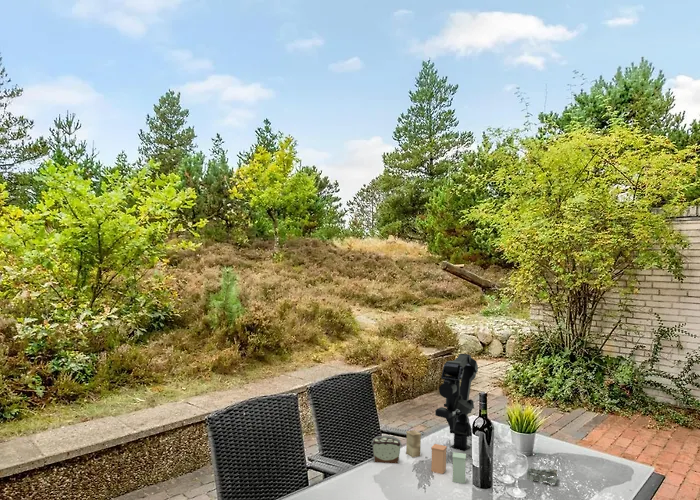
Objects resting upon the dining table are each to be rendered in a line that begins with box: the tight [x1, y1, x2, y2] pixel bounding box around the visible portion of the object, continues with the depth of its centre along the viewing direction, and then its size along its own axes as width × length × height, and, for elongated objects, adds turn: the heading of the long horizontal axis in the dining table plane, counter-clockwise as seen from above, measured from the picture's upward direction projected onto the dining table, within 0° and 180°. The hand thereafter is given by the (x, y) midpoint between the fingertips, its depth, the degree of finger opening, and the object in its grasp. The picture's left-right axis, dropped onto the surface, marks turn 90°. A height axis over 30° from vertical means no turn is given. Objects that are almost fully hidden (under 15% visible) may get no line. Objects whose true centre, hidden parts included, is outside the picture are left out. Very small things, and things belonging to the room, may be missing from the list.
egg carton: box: [526, 466, 558, 484], centre depth 173 cm, size 11×8×4 cm
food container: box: [370, 435, 403, 465], centre depth 185 cm, size 12×6×10 cm, turn 84°
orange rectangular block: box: [430, 443, 448, 475], centre depth 176 cm, size 4×5×9 cm
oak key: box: [405, 429, 422, 459], centre depth 190 cm, size 4×5×9 cm
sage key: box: [451, 451, 467, 484], centre depth 169 cm, size 4×5×9 cm
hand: (452, 429), depth 191 cm, fingers closed
